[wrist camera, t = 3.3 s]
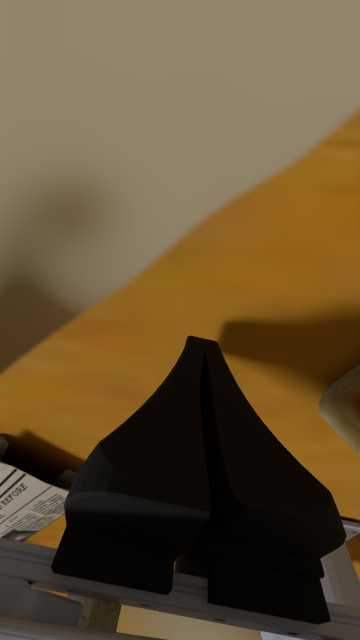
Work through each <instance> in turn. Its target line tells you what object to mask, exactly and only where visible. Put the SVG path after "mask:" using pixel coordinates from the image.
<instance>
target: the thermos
mask: <svg viewBox="0 0 360 640" xmlns="http://www.w3.org/2000/svg"><path fill="white" fill-rule="evenodd" d="M67 598H69V599H72V600H75V601H78V602H81V603H82V605H83V610H82V615H84V616H85V618H86V625H85V628H89V629H96V630H103V631H110V632H116V630H117V624H118V620H119V614H120V610H121V604H118V603H113V602H108V601H102V600H97V599H92V598H87V597H82V596H76V595H71V594H68V595H67Z"/></svg>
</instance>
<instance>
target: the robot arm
mask: <svg viewBox="0 0 360 640" xmlns="http://www.w3.org/2000/svg"><path fill="white" fill-rule="evenodd" d="M64 511H65V517H66V524H67V526H66V529H65V531H64V534H63V536H62V539H61V542H60V544H59V547H58V549H56V548H51V547H45V546H40V545H35V544H30V543H25V542H20V541H15V540H10V539H5V538H0V640H165V639H158V638H151V637H145V636H138V635H131V634H124V633H117V632H110V631H103V630H96V629H89V628H85V625H86V618H85V616H84V615H82V610H83V605H82V603H81V602H78V601H75V600H72V599H69V598H66V597H63V596H60V595H57V594H54V593H50V592H47V591H44V590H40V589H45V590H51V591H56V592H61V593H66V594H71V595H76V596H82V597H87V598H92V599H97V600H102V601H108V602H113V603H118V604H123V605H129V606H134V607H139V608H144V609H150V610H154V611H159V612H165V613H170V614H175V615H180V616H185V617H191V618H196V619H201V620H206V621H211V622H216V623H222V624H227V625H232V626H237V627H243V628H248V629H253V630H258V631H261V636H262V640H360V582H359V579H358V577H357V574H356V571H355V568H354V565H353V563H352V560H351V557H350V554H349V551H348V549H347V546H346V543H345V541H347V540H349V539H351V538H352V537H354V536H356V535H358V534H359V533H360V524H359V523H355V522H350V521H345V520H341V517H340V514H339V512H338V509H337V506H336V504H335V502H334V499H333V497H332V495H331V492H330V491H329V490H328V489H327V488H326V487H325V486H324V485H322V484H321V483H320V482H319V481H318V480H317V479H316V478H315V477H314V476H313V475H312V474H311V473H310V472H309V471H308V470H306V469H305V468H304V467H303V466H302V465H301V464H300V463H299V462H298V461H297V460H296V459H295V458H294V457H293V455H292V454H291V453H290V452H289V451H288V450H287V449H286V448H285V447H284V446H283V445H282V444H281V443H280V442H279V440H278V439H277V438H276V437H275V436H274V435H273V433H272V432H271V431H270V430H269V429H268V427H267V426H266V425H265V424H264V423H263V421H262V420H261V419H260V417H259V416H258V415H257V413H256V412H255V411H254V409H253V408H252V406H251V405H250V404H249V402H248V401H247V399H246V398H245V396H244V394H243V393H242V391H241V389H240V388H239V386H238V384H237V382H236V381H235V379H234V377H233V375H232V373H231V371H230V369H229V367H228V365H227V363H226V361H225V359H224V357H223V355H222V352H221V350H220V348H219V345H218V343H217V342H216V341H212V340H208V339H203V338H199V337H194V336H188V337H187V340H186V343H185V347H184V350H183V352H182V354H181V356H180V357H179V359H178V361H177V363H176V364H175V366H174V367H173V369H172V370H171V372H170V373H169V375H168V376H167V378H166V379H165V380H164V382H163V383H162V384H161V385H160V386H159V388H158V389H157V390H156V391H155V392H154V394H153V395H152V396H151V397H150V398H149V399H148V400H147V401H146V402H145V403H144V404H143V405H142V406H141V407H140V408H139V409H138V410H137V411H136V412H135V413H134V414H133V415H132V416H130V417H129V418H128V419H127V420H126V421H125V422H124V423H123V424H122V425H120V426H119V427H118V428H117V429H115V430H114V431H113V432H112V433H110V434H109V435H108V436H107V437H105V438H104V439H103V440H101V441H100V442H99V443H98V444H97V446H96V447H95V448H94V450H93V451H92V452H91V454H90V455H89V456H88V458H87V459H86V461H85V462H84V464H83V465H82V467H81V468H80V470H79V472H78V473H77V475H76V477H75V479H74V481H73V483H72V485H71V488H70V490H69V493H68V495H67V497H66V500H65V503H64ZM175 561H176V562H175ZM174 562H175V569H174ZM173 571H174V572H173ZM31 587H35V588H40V589H34V588H31Z"/></svg>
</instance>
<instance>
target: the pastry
mask: <svg viewBox="0 0 360 640" xmlns="http://www.w3.org/2000/svg"><path fill="white" fill-rule="evenodd" d="M319 410H320V412H321V414H322V416H323V417H324V418H325V420H326V421H327V422H328V424H329V425H330V426H331V427H332V428H333V429H334V431H335V432H336V433H337V434H338V435H339V436H340V437H341V438H342V439H344V440H345V441H346V442H347V443H348V444H349V445H350V446H351V447H352V448H353V450H354V451H355V452H356V454H357V455H358V456H359V457H360V365H358V366H357V367H355V368H353V369H352V370H350V371H349V372H347V373H346V374H344V375H343V376H341V377H340V378H339V379H338V380H336V381H335V382H333V383H332V384H331V385H330V386H329V387H328V388H327V389H326V390H325V392H324V393H323V395H322V398H321V399H320V401H319Z"/></svg>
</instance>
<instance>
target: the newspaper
mask: <svg viewBox="0 0 360 640" xmlns="http://www.w3.org/2000/svg"><path fill="white" fill-rule="evenodd" d="M3 437H4V436H1V437H0V538H5V539H10V540H15V541H20V542H23V541H25V540H26V539H28V538H29V537H30V536H32V535H33V534H35V533H36V532H38V531H39V530H41V529H42V528H43V527H45V526H46V525H48V524H49V523H51V522H52V521H54V520H55V519H57V518H58V517H59V516H61V515H62V514H64V513H65V511H64V503H65V500H66V497H67V495H68V493H69V490H70V488H71V485H72V483H73V481H74V479H75V477H76V475H77V473H75V472H73V471H70V470H68V469H67V470H66V471H65V472H64V473H63V474H62V475H61V476H60V477H59V478H58V479H57V480H56V482H55V483H54V484H53V485H50V484H47V483H45V482H43V481H41V480H39V479H37V478H35V477H33V476H31V475H29V474H27V473H25V472H23V471H22V470H20V469H18V468H16V467H14V466H11V465H8V464H6V463H4V462H3V461H1V459H2V457H3V455H4V453H5V451H6V449H7V447H8V443H7V441H6V440H5V439H2V438H3Z"/></svg>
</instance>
